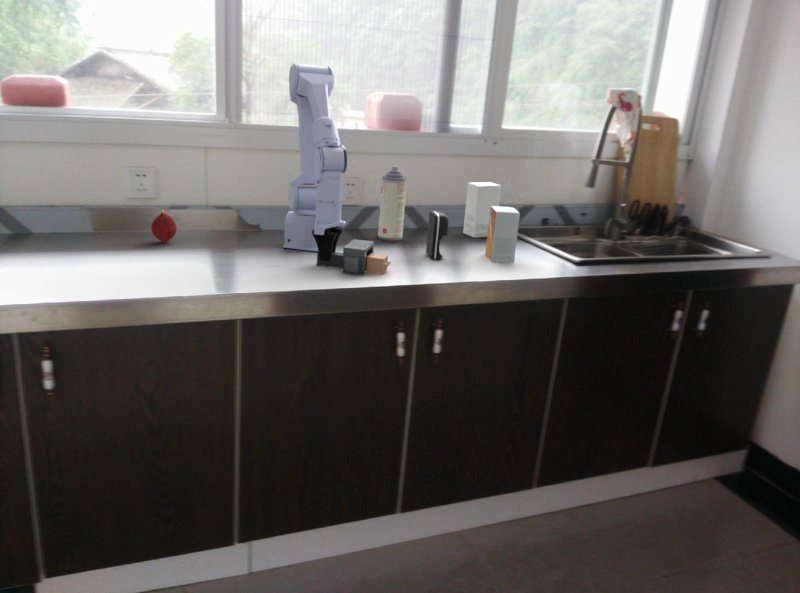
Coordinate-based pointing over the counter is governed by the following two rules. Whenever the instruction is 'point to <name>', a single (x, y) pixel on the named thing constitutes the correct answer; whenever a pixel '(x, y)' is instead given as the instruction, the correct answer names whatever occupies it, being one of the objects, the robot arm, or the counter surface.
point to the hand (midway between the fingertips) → (326, 259)
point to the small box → (502, 234)
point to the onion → (164, 227)
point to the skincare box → (480, 207)
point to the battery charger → (436, 233)
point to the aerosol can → (392, 205)
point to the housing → (356, 256)
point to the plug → (373, 262)
